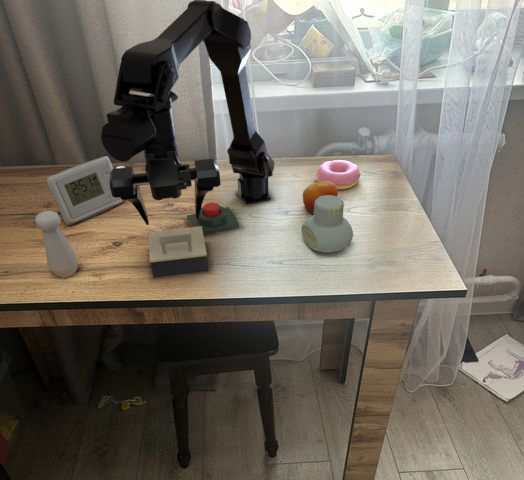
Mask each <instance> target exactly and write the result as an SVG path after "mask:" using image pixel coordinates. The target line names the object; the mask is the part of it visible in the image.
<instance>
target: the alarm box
mask: <svg viewBox="0 0 524 480" xmlns="http://www.w3.org/2000/svg"><path fill="white" fill-rule="evenodd" d="M219 207H220V214H219V215H218V216H215V217H207V216H205V215H204V210H203V206H202V207H201V211H200V215H199V219H196V213H192V214H187V215H186V220H187V221H188V224H189V225H190V226H189V227H199V226H202V231H203V236H207V235H212V234H216V233H222V232H226V231H231V230H235V229H239V228H240V222H239V221H238V219H237V217H236V216H235V215H234V213H233V212H232V210H231V209H230V207H229V206H227V207H224V206H222V205H219Z"/></svg>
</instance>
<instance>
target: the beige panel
mask: <svg viewBox="0 0 524 480" xmlns="http://www.w3.org/2000/svg"><path fill="white" fill-rule="evenodd" d="M204 236H205V235H203V231H202V226H199V227H191V226H189V227H183V228H181V227H180V228H174V229H164V230H156V231H148V250H149V251H148V253H149V255H148V256H149V263H150V264H151V262H160V261H168V260H176V259H184V258H193V257H201V256H207V257H208V254H207V248H206V243H205V237H204Z"/></svg>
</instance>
